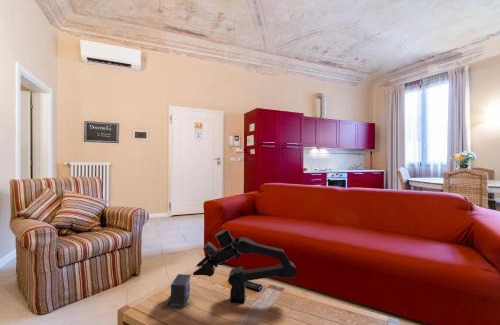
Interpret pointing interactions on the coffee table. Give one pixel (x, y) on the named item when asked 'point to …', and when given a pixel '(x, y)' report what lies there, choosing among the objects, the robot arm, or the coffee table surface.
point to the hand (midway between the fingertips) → (195, 269)
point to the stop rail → (166, 303)
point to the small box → (180, 291)
